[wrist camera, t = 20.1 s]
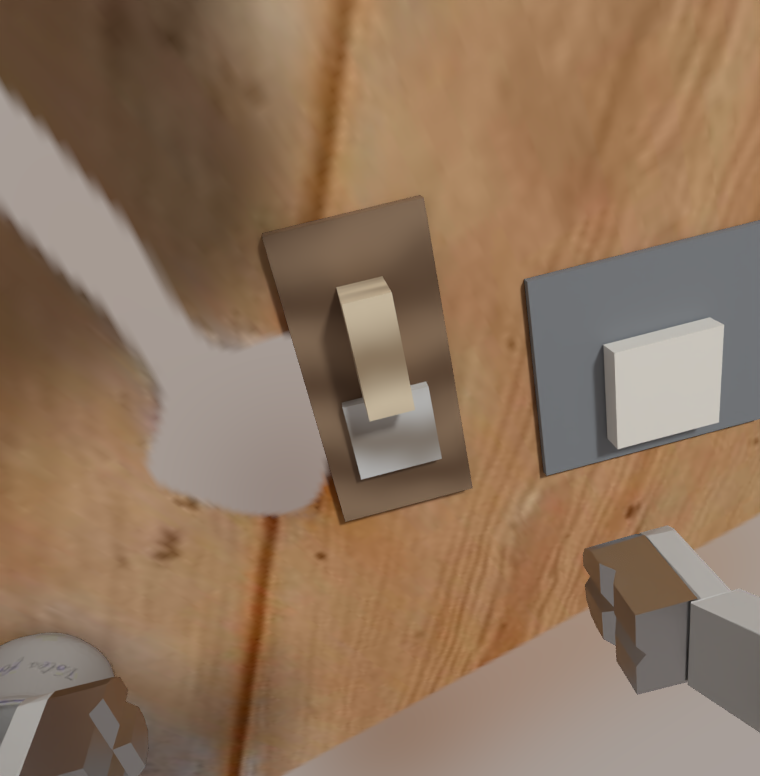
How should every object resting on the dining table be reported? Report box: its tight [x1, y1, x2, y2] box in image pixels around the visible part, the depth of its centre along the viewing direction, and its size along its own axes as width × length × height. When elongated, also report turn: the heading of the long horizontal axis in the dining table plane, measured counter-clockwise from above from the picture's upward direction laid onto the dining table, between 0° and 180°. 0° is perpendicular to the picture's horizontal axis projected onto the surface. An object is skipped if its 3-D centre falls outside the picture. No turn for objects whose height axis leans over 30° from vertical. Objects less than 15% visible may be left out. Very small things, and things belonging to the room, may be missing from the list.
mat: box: [524, 220, 760, 476], centre depth 46 cm, size 16×18×1 cm
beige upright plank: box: [336, 276, 442, 480], centre depth 41 cm, size 14×6×4 cm, turn 11°
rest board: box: [262, 195, 472, 522], centre depth 43 cm, size 22×10×1 cm, turn 12°
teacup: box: [0, 633, 114, 746], centre depth 46 cm, size 14×11×8 cm
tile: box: [603, 317, 724, 449], centre depth 45 cm, size 2×8×8 cm
